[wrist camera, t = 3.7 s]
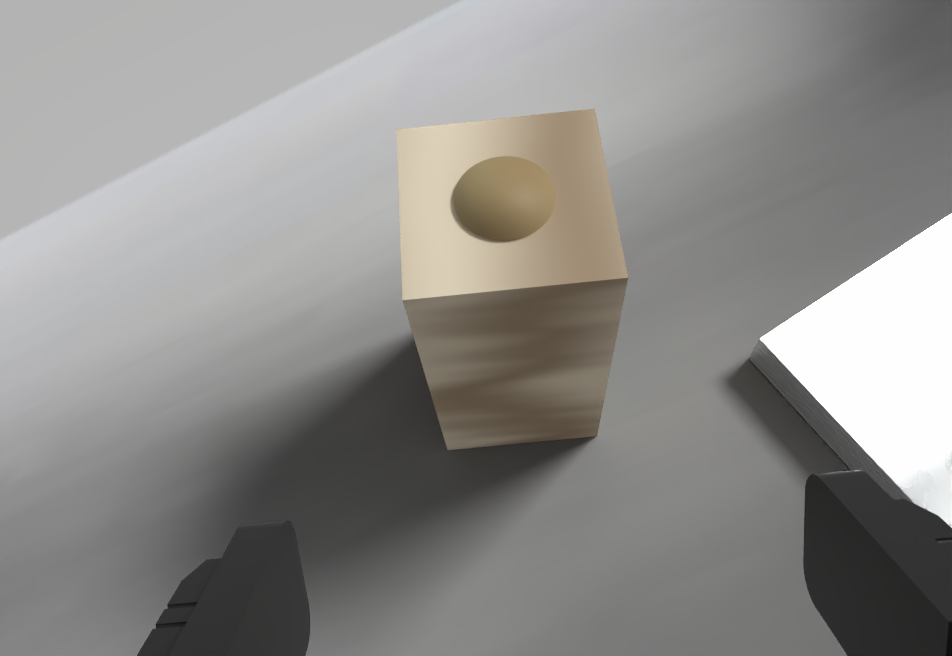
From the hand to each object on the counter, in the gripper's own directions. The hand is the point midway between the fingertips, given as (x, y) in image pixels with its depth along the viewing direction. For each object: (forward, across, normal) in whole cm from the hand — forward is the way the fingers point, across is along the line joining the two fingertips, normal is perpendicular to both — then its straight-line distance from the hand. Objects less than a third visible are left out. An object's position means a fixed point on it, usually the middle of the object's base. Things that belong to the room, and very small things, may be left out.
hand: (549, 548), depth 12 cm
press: (+17, -25, +1) cm, 30 cm away
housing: (+15, 0, +3) cm, 15 cm away
